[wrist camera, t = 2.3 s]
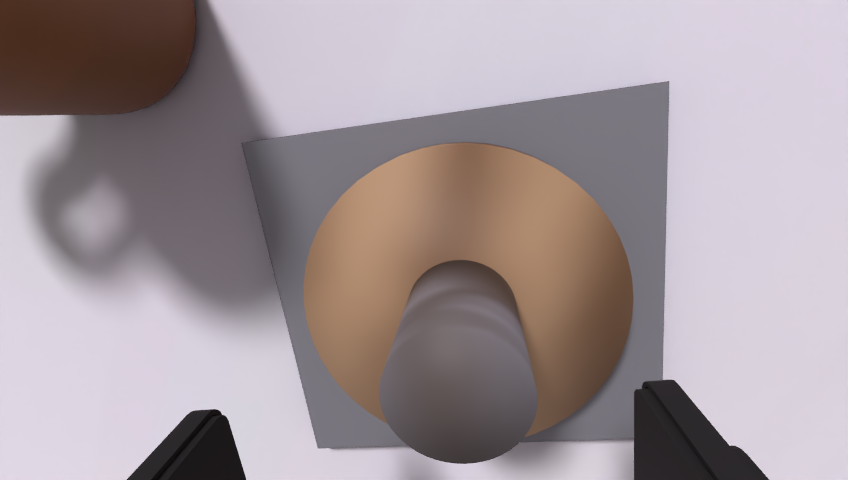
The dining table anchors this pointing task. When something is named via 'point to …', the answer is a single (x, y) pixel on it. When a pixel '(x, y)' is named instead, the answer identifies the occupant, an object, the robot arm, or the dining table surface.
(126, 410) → the dining table surface
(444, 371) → the copper lid
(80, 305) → the dining table surface
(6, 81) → the mug
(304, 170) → the rubber mat
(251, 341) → the dining table surface
